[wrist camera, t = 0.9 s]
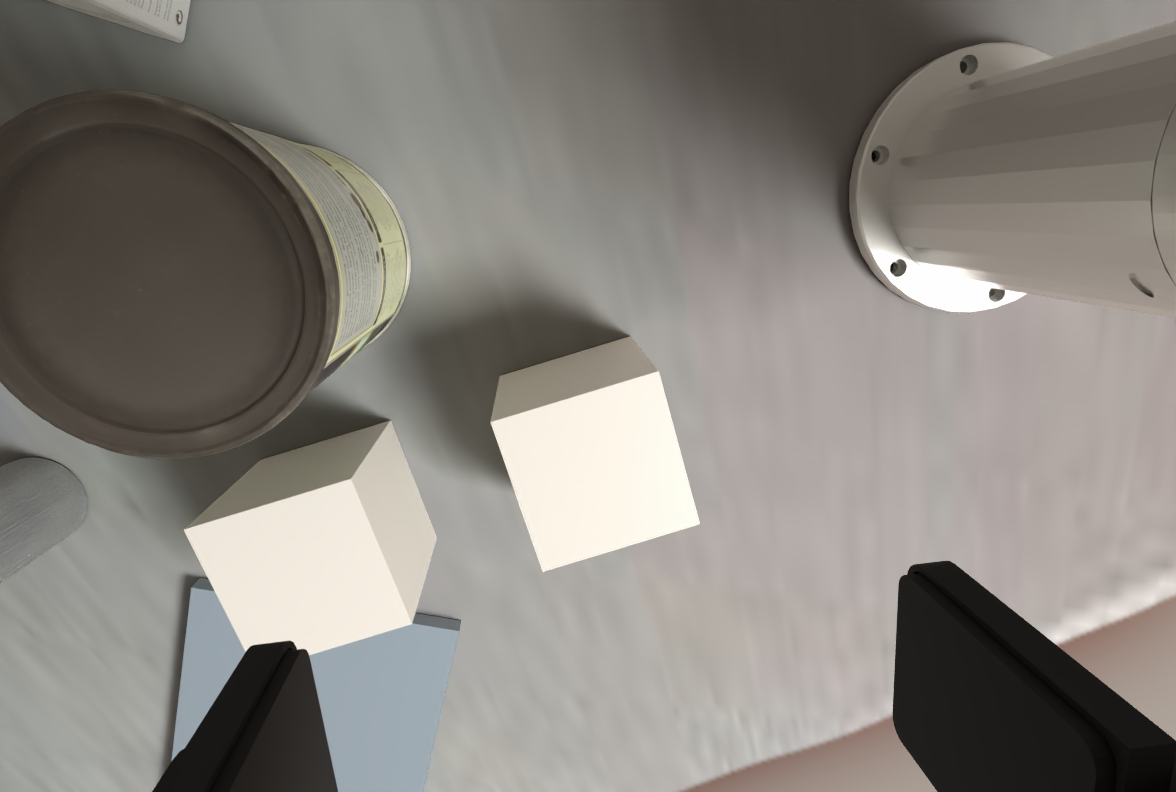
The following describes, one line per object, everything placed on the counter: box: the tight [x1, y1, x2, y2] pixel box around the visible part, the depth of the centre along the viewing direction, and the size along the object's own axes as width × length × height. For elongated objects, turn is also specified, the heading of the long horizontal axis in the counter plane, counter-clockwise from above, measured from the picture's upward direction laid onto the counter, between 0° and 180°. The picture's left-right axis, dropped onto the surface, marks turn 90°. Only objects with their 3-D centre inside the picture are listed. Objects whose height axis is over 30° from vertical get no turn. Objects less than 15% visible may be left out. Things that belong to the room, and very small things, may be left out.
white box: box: [184, 420, 437, 655], centre depth 32 cm, size 7×7×8 cm
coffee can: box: [0, 90, 411, 459], centre depth 26 cm, size 10×10×14 cm
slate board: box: [171, 578, 461, 792], centre depth 39 cm, size 14×14×1 cm
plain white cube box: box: [491, 336, 700, 572], centre depth 32 cm, size 7×7×8 cm
